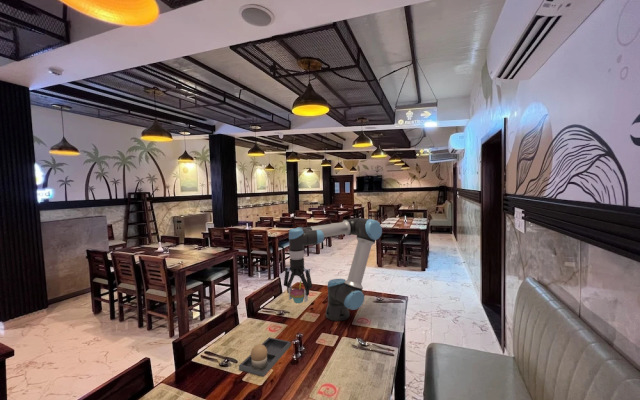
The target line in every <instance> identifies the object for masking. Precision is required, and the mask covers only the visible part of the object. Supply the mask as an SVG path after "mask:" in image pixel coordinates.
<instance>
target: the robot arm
mask: <svg viewBox="0 0 640 400" xmlns="http://www.w3.org/2000/svg"><path fill="white" fill-rule="evenodd" d="M382 234H383V228H382V225H381V223H380V222H379V221H378V220H375V219H372V218H363V217H356V218H350V219H346V220H345V219H344V220H343V221H342V222H335V223H328V224H319V225H314V226H307V227H302V226H299V227H296V228H291V229H289V230H288V243H289V244H288V246H289V265H290V266H287V267H285V269H284V279H283V286H284V287H286V292H287V294H288V300H289V301H290V300H293V298H292V297H291V296H290V292H291V290H293V286H292V282H293V281H294V278H295V276H297V277H299V278H300V281H301V283H302V285H303V286H304V288H303V289H304V299H303V303H307V302H308V301H309V295H310V290H311V289H312V288H313V282H312V278H311V273H310V272H311V269H310V268H305V258H304V256H305V251H304V250H305V247H306V246H312V245H319V244H322V243H323V242H324V241H325V238H328V237H334V236H339V235H345V236H356V240H357V244H356V247H355V251H354V256H353V258H352V262H351V265H350V269H349V272H348V276H347V279H344V278H333V279H329V281H328V282H327V306H326V309H325V317H326V318H327V319H328V320H329V321H333V322H341V321H346V320H348V319H349V318H350V311H349V310H351V311H353V310H354V311H355V310H358V309H359V308H361V307H362V305H363V303H364V301H365V294H364V293H363V285H362V283H363V279H364V277H365V272H366V269H367V268H366V267H367V264H368V260H369V256H370V253H371V249H372V246H373V245H374V244H376V240H379V238H381V237H382ZM290 272H291V274H290Z"/></svg>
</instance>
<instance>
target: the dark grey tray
mask: <svg viewBox="0 0 640 400" xmlns="http://www.w3.org/2000/svg"><path fill="white" fill-rule="evenodd" d="M261 344H262V345H264V346H265V347H266V348H267V352H268V354H267V365H266V367H264V368H262V369H256V368H252V358H251V354H249V356H247V357H246V358H245V359H244V360H243V361H242V362H241V363H240V364H239V365H238V370H239V371H240V372H241V371H242V372H243V373H249V374H251V375H255V376H259V377H265V376H266V375H267V374H268V373H269V372H270V370H271V369H272V368H273V367H274V366H275V364H276V363H277V362H278V361H279V360H280V359H281V358H282V357H283V356H284V354H285V353H286V352H287V351H288V349H290V347H291V345H292V342H291V341H289V340H285V339H279V338H275V337H274V338H273V337H268V338H267V339H265V340H264V342H262V343H261Z"/></svg>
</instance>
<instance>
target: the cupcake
mask: <svg viewBox="0 0 640 400" xmlns="http://www.w3.org/2000/svg"><path fill="white" fill-rule="evenodd" d="M304 289H305V288H302V280H300V281H299V286H298V287H297V288H296V287H295V288H292V290H291V292H290V296H291V297H292V300H293V302H294V303H295V304H301V303H304Z"/></svg>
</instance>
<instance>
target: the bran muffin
mask: <svg viewBox="0 0 640 400" xmlns="http://www.w3.org/2000/svg"><path fill="white" fill-rule="evenodd" d="M267 354H268V352H267V348H266V347H265V346H264V345H262V343H259V344H255V346H253V347H252V349H251V351H250V355H251V358H252V368H256V369H262V368H264V367H266V365H267Z"/></svg>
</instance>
